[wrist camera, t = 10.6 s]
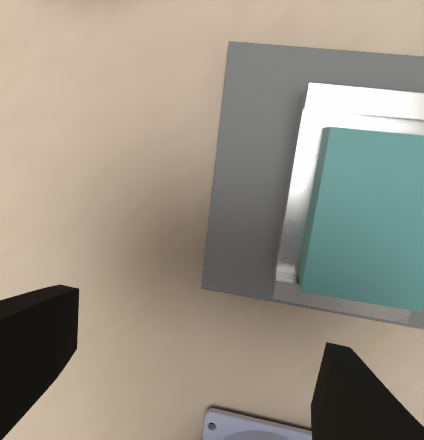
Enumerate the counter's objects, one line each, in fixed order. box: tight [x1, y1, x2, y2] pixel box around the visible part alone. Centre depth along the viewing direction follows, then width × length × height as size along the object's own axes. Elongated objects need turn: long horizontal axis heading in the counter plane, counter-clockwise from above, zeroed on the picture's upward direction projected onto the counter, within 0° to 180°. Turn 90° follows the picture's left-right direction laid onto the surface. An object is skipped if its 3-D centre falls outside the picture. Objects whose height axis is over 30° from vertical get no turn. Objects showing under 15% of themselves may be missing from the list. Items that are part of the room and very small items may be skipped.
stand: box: [201, 41, 424, 329], centre depth 17 cm, size 12×12×1 cm
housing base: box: [273, 83, 424, 324], centre depth 14 cm, size 8×5×4 cm, turn 174°
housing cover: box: [298, 126, 424, 312], centre depth 12 cm, size 6×4×2 cm
